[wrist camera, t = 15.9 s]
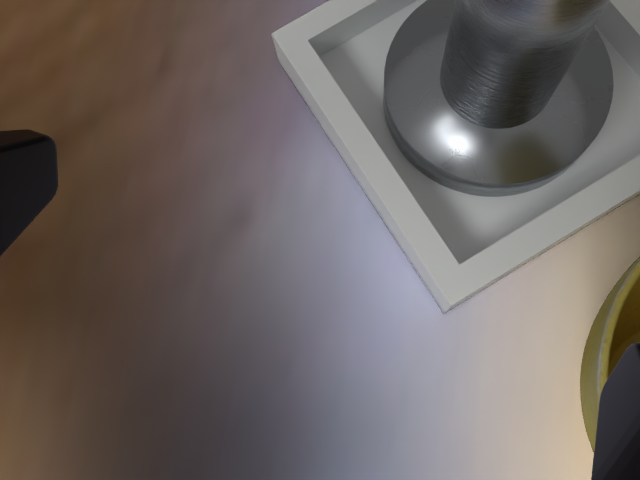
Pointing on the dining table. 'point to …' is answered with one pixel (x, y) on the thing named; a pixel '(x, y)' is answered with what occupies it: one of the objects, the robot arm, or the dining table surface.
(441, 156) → the steel stop
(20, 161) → the robot arm
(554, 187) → the tray
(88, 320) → the dining table surface
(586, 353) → the flower pot
